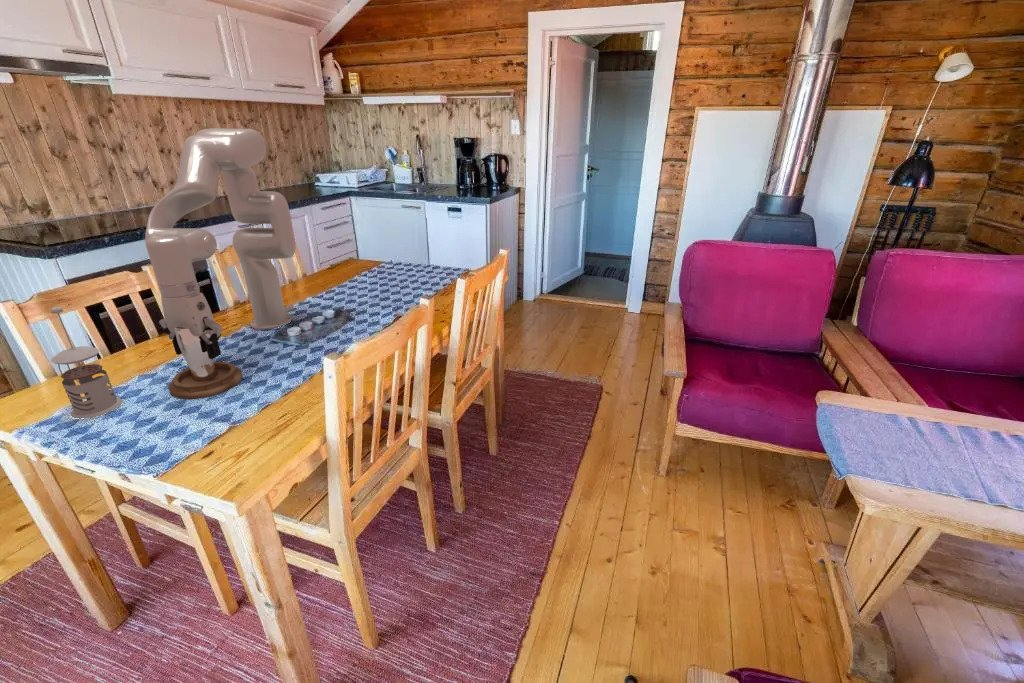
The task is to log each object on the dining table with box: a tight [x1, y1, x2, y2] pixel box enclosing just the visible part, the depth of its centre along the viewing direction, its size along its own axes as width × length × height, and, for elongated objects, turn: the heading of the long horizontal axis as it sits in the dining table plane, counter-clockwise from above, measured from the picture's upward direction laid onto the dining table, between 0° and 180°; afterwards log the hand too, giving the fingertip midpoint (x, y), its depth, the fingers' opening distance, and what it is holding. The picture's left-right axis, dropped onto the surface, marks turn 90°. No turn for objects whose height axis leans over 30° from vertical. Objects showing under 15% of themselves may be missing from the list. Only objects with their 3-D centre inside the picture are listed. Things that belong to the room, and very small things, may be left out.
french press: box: [50, 306, 124, 419], centre depth 105 cm, size 10×12×25 cm
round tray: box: [168, 361, 244, 400], centre depth 120 cm, size 16×16×3 cm
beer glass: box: [174, 327, 219, 384], centre depth 117 cm, size 7×7×15 cm
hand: (199, 354), depth 117 cm, fingers open, 9 cm apart
